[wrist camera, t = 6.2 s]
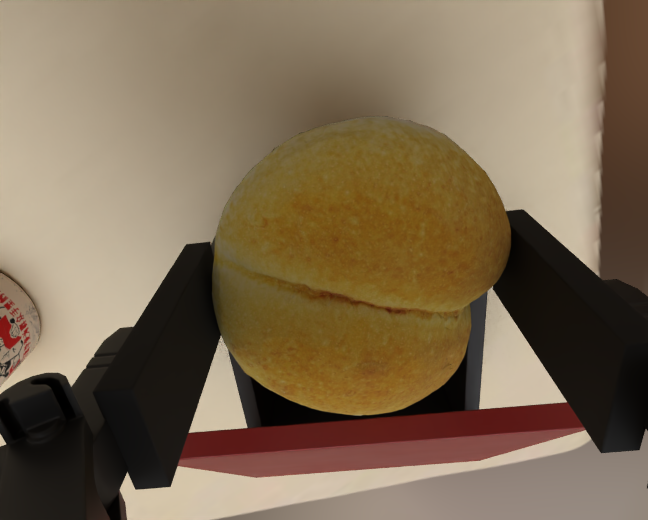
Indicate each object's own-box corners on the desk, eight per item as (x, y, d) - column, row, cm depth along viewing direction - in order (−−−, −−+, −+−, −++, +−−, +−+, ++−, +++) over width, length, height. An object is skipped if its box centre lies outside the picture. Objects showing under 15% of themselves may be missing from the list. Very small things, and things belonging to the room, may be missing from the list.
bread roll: (530, 153, 13) (607, 189, 10) (423, 388, 17) (449, 480, 13) (253, 70, 12) (222, 76, 9) (201, 337, 16) (163, 420, 12)
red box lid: (153, 435, 15) (150, 462, 14) (586, 400, 14) (595, 427, 14) (255, 463, 29) (255, 477, 28) (477, 446, 28) (480, 460, 28)
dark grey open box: (229, 206, 28) (204, 257, 22) (454, 183, 28) (492, 229, 21) (267, 387, 35) (256, 464, 29) (448, 371, 34) (476, 447, 28)
